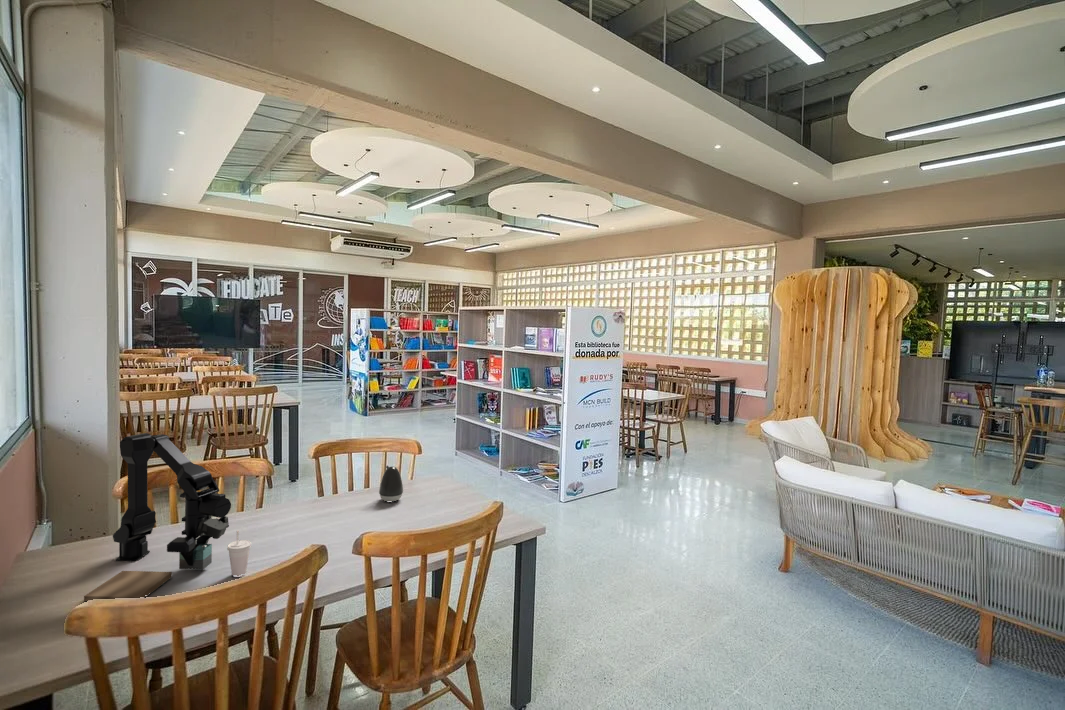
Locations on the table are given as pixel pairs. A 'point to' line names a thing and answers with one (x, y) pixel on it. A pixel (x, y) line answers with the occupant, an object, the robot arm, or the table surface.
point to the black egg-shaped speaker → (391, 485)
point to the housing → (198, 558)
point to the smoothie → (239, 555)
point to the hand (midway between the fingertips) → (195, 561)
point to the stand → (129, 585)
